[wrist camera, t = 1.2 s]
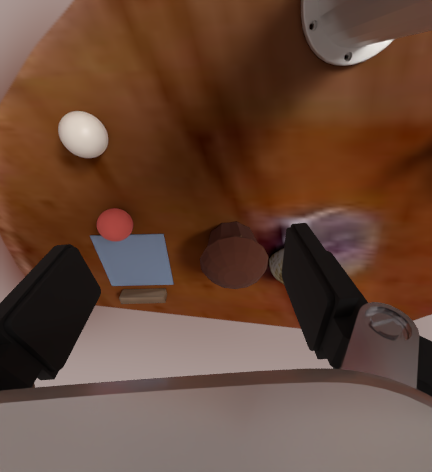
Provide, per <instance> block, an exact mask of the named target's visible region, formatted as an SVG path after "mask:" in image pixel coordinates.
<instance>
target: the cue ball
mask: <svg viewBox="0 0 432 472" xmlns="http://www.w3.org/2000/svg"><path fill="white" fill-rule="evenodd" d="M58 132H59V137H60V139H61V141H62V143H63V144H64V146H65V147H66V148H67V149H68V150H69V151H70V152H72V153H73V154H75V155H77V156H79V157H83V158H94V157H97V156H99V155H101V154H102V153H103V152H104V151H105V150H106V148H107V145H108V134H107V131H106V129H105V127H104V125H103V124H102V123H101V122H100V121H99V120H98V119H97V118H96V117H95V116H93V115H91V114H89V113H86V112H82V111H74V112H70V113H68V114H66V115H65V116H64V117H63V118H62V119H61V121H60V123H59V127H58Z"/></svg>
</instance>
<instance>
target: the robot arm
mask: <svg viewBox="0 0 432 472" xmlns="http://www.w3.org/2000/svg"><path fill="white" fill-rule="evenodd" d="M301 20H302V27H303V31H304V35H305V38H306V41H307V43H308V44H309V46H310V48H311V50H312V51H313V52H314V53H315V54H316V55H317V57H318V58H320V59H321V60H323V61H325V62H326V63H329V64H332V65H338V66H347V65H354V64H357V63H360V62H364V61H366V60H368V59H370V58H371V57H373V56H375V55H377V54H378V53H379V52H381V51H382V50H383V49H385V48H386V47H387V46H388V45H389V44H390V43H391V42H392V41H393V40H394V39H397V38H401V37H405V36H410V35H414V34H419V33H423V32H428V31H432V0H301ZM310 24H312V29H311V30H310V29H309V25H310ZM345 55H346V59H345V60H344V57H345ZM282 280H283V282H284V285H285V288H286V290H287V293H288V295H289V298H290V301H291V303H292V306H293V308H294V311H295V314H296V316H297V319H298V321H299V324H300V327H301V329H302V332H303V334H304V337H305V339H306V342H307V345H308V347H309V349H310V350H311V351H315V353H316V356H317V359H328V361H329V363H330V365H331V366H332V367H333V369H292V370H272V371H254V372H240V373H225V374H210V375H197V376H183V377H168V378H154V379H141V380H127V381H115V382H101V383H88V384H75V385H63V386H51V387H38V388H35V385H34V382H35V380H36V378H38V379H40V380H50V379H55V377H56V375H57V373H58V371H59V370H60V369H61V368H63V366H64V365H65V363H66V361H67V359H68V357H69V355H70V353H71V351H72V349H73V347H74V345H75V343H76V341H77V339H78V337H79V335H80V334H81V332H82V330H83V328H84V326H85V324H86V322H87V320H88V318H89V316H90V314H91V312H92V310H93V308H94V306H95V304H96V302H97V300H98V298H99V297H100V294H101V289H100V287H99V285H98V283H97V281H96V280H95V278H94V276H93V275H92V273H91V271H90V269H89V268H88V266H87V264H86V262H85V261H84V259H83V257H82V256H81V254H80V252H79V250H78V249H77V248H76V247H74V246H72V245H70V244H68V245H57V246H55V247H53V248H52V249H51V250H50V252H49V253H48V254H47V255H46V256H45V257H44V258H43V259H42V260H41V261H40V262H39V263H38V264H37V265H36V266H35V267H34V268H33V269H32V270H31V271H30V272H29V274H28V275H27V276H26V277H25V278H24V279H23V280H22V281H21V282H20V283H19V284H18V285H17V286H16V287H15V288H14V289H13V290H12V291H11V293H9V295H8V296H7V297H6V298H5V299H4V300H3V301H2V302H1V303H0V472H432V341H430V340H428V339H426V338H423V337H421V336H419V332H418V328H417V327H416V325H415V324H414V322H413V321H412V320H411V319H410V318H409V317H408V316H407V315H406V314H404V313H403V312H402V311H400V310H399V309H396V308H394V307H392V306H390V305H387V304H383V303H376V302H372V303H368V302H367V300H366V299H365V298H364V296H363V295H362V294H361V292H360V291H359V290H358V288H357V287H356V286H355V284H354V283H353V282H352V280H351V279H350V277H349V276H348V275H347V273H346V272H345V271H344V269H343V268H342V267H341V265H340V264H339V263H338V261H337V260H336V258H335V257H334V256H333V254H332V253H331V252H329V251H326V250H325V249H324V247H323V246H322V244H321V243H320V242H319V240H318V239H317V237H316V236H315V235H314V233H313V232H312V230H311V229H310V228H309V226H308V225H307V224H306V223H299V224H292V225H291V228H287V230H286V238H285V247H284V255H283V264H282Z"/></svg>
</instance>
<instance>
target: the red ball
mask: <svg viewBox="0 0 432 472" xmlns="http://www.w3.org/2000/svg"><path fill="white" fill-rule="evenodd" d="M97 229H98V232H99V233H100V235H101V236H102V237H103V238H105V239H107V240H109V241H121V240H124V239H126V238H127V237H128V236H129V235H130V234H131V232H132V230H133V221H132V218H131V217H130V215H129V214H128V213H127V212H125V211H124V210H121V209H117V208H112V209H108V210H106V211H104V212H103V213H101V215H100V216H99V217H98V220H97Z"/></svg>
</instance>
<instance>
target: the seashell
mask: <svg viewBox="0 0 432 472" xmlns="http://www.w3.org/2000/svg"><path fill="white" fill-rule="evenodd" d="M283 255H284V249H281V250H279V251H278V252H276V253H274V254H273V255H272V256H271V257H270V259H269V266H270V269H271V272H272V274H273V276H274V277H275V278H276V279H277V280H278V281H280V282H281V283H283V284H284V282H283V280H282V264H283Z"/></svg>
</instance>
